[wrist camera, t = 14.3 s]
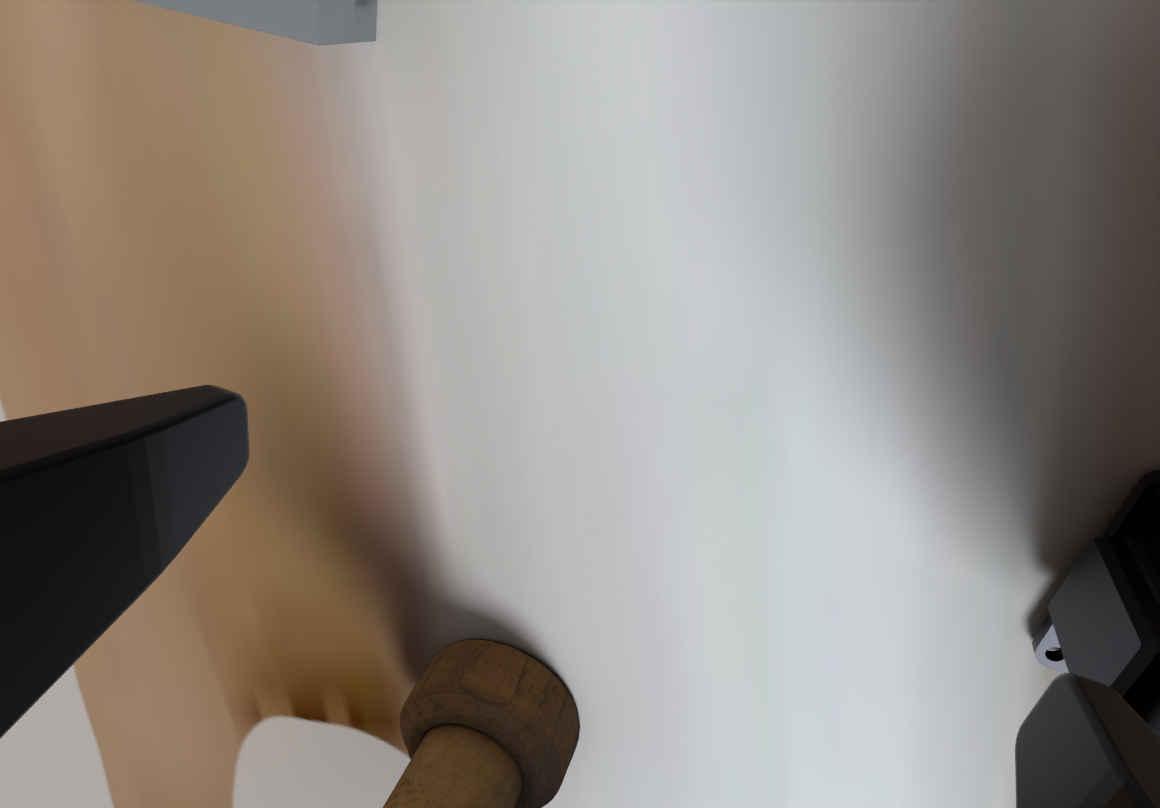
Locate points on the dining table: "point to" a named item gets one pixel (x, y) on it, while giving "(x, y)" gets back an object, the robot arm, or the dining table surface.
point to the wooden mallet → (485, 731)
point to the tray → (289, 17)
